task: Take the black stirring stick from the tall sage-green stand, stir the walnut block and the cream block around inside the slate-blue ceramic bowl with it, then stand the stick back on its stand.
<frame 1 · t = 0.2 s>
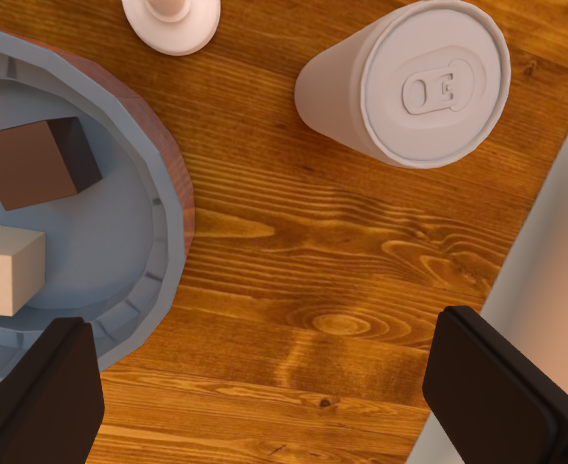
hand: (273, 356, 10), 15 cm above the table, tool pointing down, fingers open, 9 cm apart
bowl: (45, 204, 22), on the table
cream block: (13, 254, 22), point 1 cm above the table, touching bowl
beverage can: (331, 94, 22), on the table
walnut block: (59, 155, 20), point 1 cm above the table, touching bowl
chess piece: (173, 4, 19), on the table
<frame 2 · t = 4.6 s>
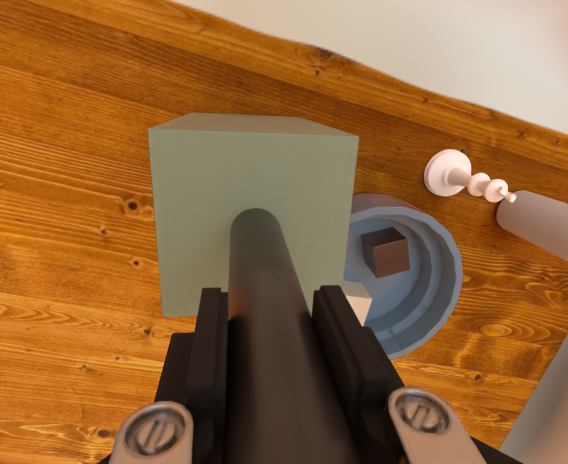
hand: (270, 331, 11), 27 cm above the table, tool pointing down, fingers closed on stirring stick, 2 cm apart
bowl: (360, 267, 41), on the table
cream block: (342, 294, 41), point 1 cm above the table, touching bowl
beverage can: (512, 209, 41), on the table
walnut block: (378, 245, 40), point 1 cm above the table, touching bowl
stand: (246, 168, 36), on the table
stirring stick: (255, 231, 19), point 18 cm above the table, touching gripper, stand
chess piece: (445, 172, 39), on the table
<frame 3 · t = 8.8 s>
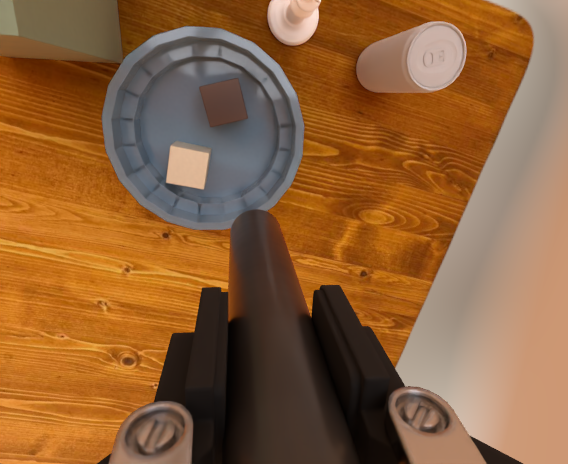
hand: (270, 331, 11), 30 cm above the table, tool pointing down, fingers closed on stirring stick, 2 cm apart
bowl: (210, 132, 38), on the table
cream block: (191, 161, 38), point 1 cm above the table, touching bowl
beverage can: (376, 68, 38), on the table
walnut block: (225, 102, 36), point 1 cm above the table, touching bowl
stirring stick: (255, 233, 19), point 22 cm above the table, touching gripper
chess piece: (292, 17, 35), on the table
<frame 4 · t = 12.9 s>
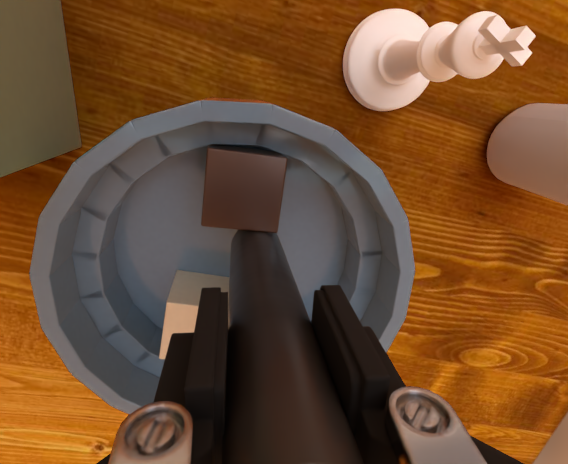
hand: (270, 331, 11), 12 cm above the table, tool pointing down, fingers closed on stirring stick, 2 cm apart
bowl: (235, 250, 22), on the table
cream block: (202, 299, 23), point 1 cm above the table, touching bowl
beverage can: (515, 144, 22), on the table
walnut block: (241, 180, 20), point 1 cm above the table, touching bowl, stirring stick
stirring stick: (255, 246, 19), point 3 cm above the table, touching gripper, walnut block
chess piece: (385, 62, 20), on the table
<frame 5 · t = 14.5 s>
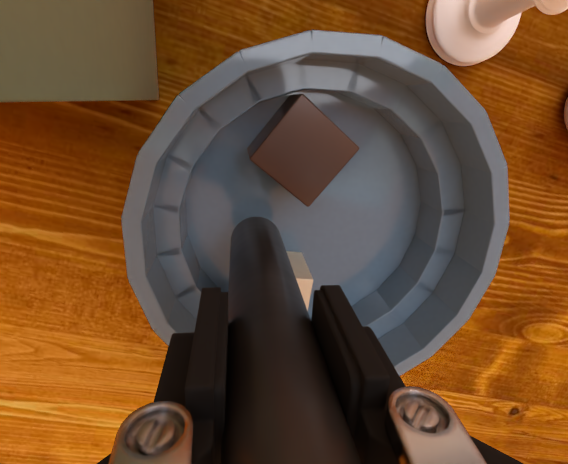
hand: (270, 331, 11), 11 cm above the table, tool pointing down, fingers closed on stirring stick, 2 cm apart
bowl: (305, 214, 22), on the table
cream block: (268, 276, 22), point 1 cm above the table, touching bowl, stirring stick
walnut block: (293, 144, 20), point 1 cm above the table, touching bowl
stirring stick: (255, 240, 19), point 3 cm above the table, touching cream block, gripper
chess piece: (467, 15, 19), on the table
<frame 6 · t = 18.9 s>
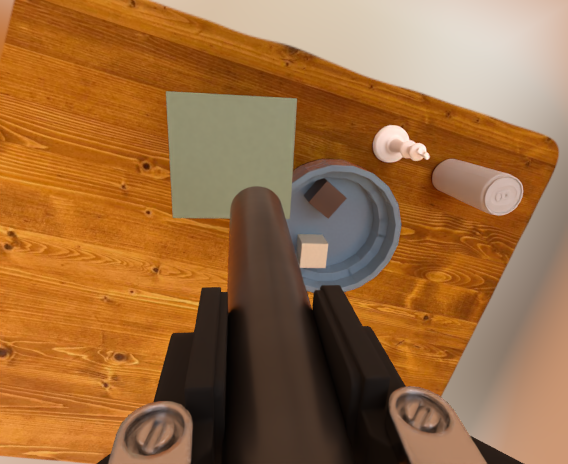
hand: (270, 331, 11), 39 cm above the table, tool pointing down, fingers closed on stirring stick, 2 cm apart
bowl: (325, 220, 52), on the table
cream block: (308, 245, 52), point 1 cm above the table, touching bowl
beverage can: (445, 174, 52), on the table
walnut block: (321, 193, 50), point 1 cm above the table, touching bowl
stand: (233, 137, 46), on the table
stirring stick: (256, 210, 18), point 31 cm above the table, tilted 7°, touching gripper
chess piece: (389, 143, 49), on the table
when the fingers open (27 cm above the table, at t = 22.7 s): stirring stick stays where it is, resting on stand.
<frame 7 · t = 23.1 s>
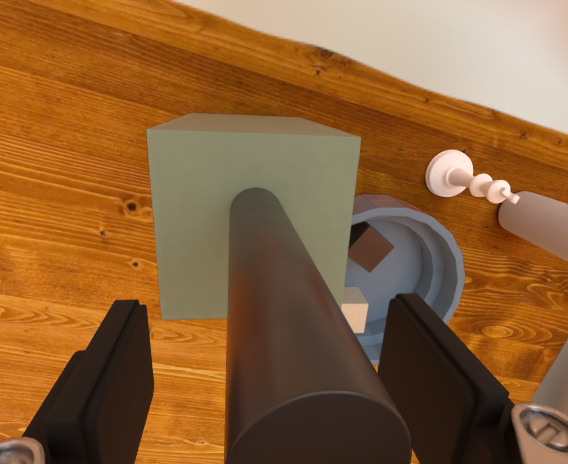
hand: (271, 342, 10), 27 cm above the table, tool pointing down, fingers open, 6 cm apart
bowl: (361, 269, 41), on the table
cream block: (340, 300, 41), point 1 cm above the table, touching bowl
beverage can: (513, 210, 41), on the table
walnut block: (358, 237, 39), point 1 cm above the table, touching bowl
stand: (246, 168, 35), on the table
stirring stick: (255, 213, 18), point 18 cm above the table, touching stand
chess piece: (446, 173, 38), on the table
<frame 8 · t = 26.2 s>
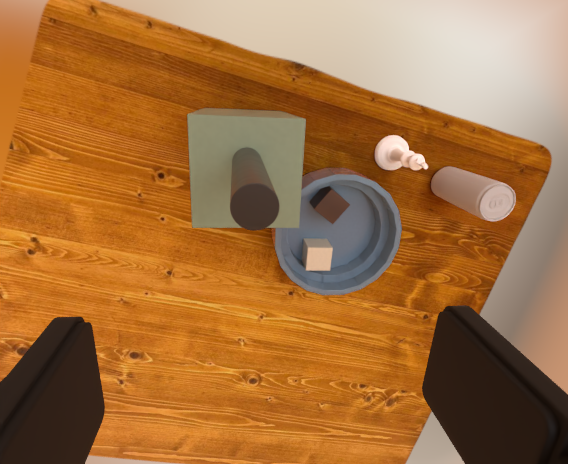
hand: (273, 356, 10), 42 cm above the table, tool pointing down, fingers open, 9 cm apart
bowl: (329, 225, 55), on the table
cream block: (314, 249, 55), point 1 cm above the table, touching bowl
beverage can: (443, 181, 55), on the table
walnut block: (326, 199, 53), point 1 cm above the table, touching bowl
stand: (243, 148, 49), on the table
stirring stick: (247, 162, 32), point 18 cm above the table, touching stand
chess piece: (390, 152, 52), on the table
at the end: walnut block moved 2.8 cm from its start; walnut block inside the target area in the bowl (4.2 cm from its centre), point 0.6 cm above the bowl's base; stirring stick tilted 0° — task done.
